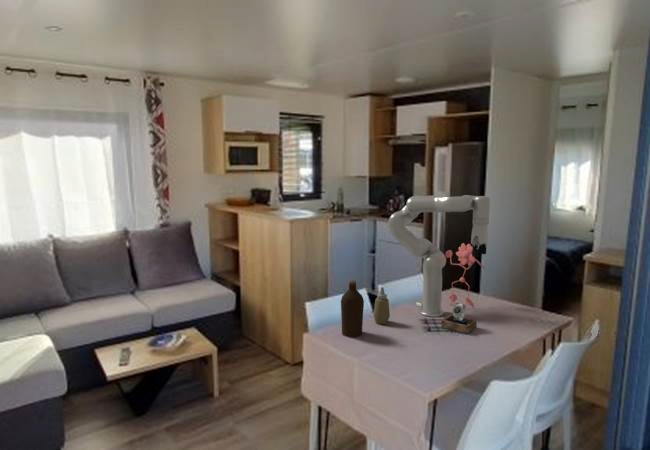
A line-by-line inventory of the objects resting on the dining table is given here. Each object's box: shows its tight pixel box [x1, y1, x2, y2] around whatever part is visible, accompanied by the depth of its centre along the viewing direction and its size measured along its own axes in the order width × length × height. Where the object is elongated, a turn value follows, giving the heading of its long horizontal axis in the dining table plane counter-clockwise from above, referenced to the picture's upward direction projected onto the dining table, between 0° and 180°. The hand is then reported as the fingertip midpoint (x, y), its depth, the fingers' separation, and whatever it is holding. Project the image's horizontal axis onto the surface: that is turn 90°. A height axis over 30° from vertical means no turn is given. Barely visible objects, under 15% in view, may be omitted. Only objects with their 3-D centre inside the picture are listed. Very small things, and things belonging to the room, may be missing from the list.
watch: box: [452, 303, 467, 325], centre depth 216 cm, size 6×8×11 cm
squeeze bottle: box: [373, 286, 391, 325], centre depth 222 cm, size 8×8×18 cm
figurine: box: [445, 242, 486, 308], centre depth 250 cm, size 15×26×35 cm, turn 38°
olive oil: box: [340, 280, 365, 338], centre depth 208 cm, size 11×11×25 cm
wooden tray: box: [441, 314, 478, 336], centre depth 216 cm, size 13×11×4 cm
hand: (479, 255), depth 223 cm, fingers open, 9 cm apart
